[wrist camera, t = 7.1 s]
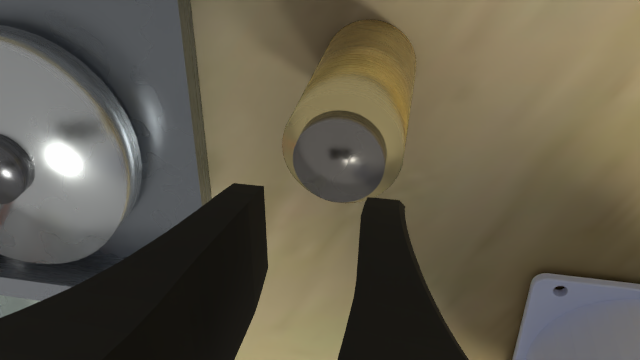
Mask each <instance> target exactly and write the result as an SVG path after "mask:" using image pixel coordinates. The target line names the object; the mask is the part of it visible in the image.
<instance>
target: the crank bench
mask: <svg viewBox="0 0 640 360" xmlns="http://www.w3.org/2000/svg"><path fill="white" fill-rule="evenodd" d="M0 25H5V26H10V27H14V28H18V29H23V30H26V31H28V32H31V33H34V34H36V35H39V36H42V37H44V38H45V39H47V40H49V41H51V42H53V43H55V44H57V45H59V46H60V47H62V48H64V49H65V50H67V51H68V52H70V53H71V54H73V55H74V56H75V57H77V58H78V59H79V60H80V61H82V62H83V63H84V64H85V65H87V66H88V67H89V68H90V69H91V70H92V71H93V72H94V73H95V74H96V75H97V76H98V77H99V78H100V79H101V80H102V81H103V82H104V83H105V85H106V86H107V87H108V88H109V89H110V91H111V92H112V93H113V94H114V96H115V97H116V99H117V100H118V102H119V103H120V105H121V106H122V108H123V109H124V111H125V113H126V115H127V117H128V119H129V120H130V122H131V125H132V127H133V130H134V132H135V135H136V137H137V141H138V145H139V149H140V153H141V160H142V182H141V188H140V193H139V195H138V198H137V201H136V203H135V205H134V207H133V209H132V210H131V212H130V214H129V215H128V216H127V217H126V219H125V220H124V221H123V222H122V224H121V225H120V226H119V227H118V229H117V230H116V231H115V232H114V234H113V235H112V236H111V237H110V238H109V240H108V241H107V242H106V243H105V244H104V245H103V246H102V247H101V248H99V249H98V250H97V251H96V252H94V253H92V254H90V255H88V256H87V257H84V258H81V259H79V260H76V261H72V262H67V263H59V264H39V263H31V262H25V261H20V260H17V259H13V258H9V257H6V256H4V255H1V254H0V318H1V317H4V316H6V315H9V314H12V313H14V312H17V311H19V310H21V309H24V308H26V307H28V306H30V305H33V304H35V303H37V302H40V301H42V300H44V299H46V298H49V297H51V296H53V295H56V294H58V293H60V292H62V291H65V290H67V289H69V288H71V287H73V286H75V285H77V284H79V283H81V282H83V281H85V280H87V279H89V278H91V277H93V276H95V275H96V274H98V273H100V272H102V271H104V270H106V269H108V268H109V267H111V266H113V265H115V264H116V263H118V262H120V261H122V260H123V259H125V258H127V257H128V256H130V255H131V254H133V253H134V252H136V251H137V250H139V249H141V248H142V247H144V246H145V245H147V244H148V243H150V242H152V241H153V240H155V239H156V238H158V237H159V236H161V235H162V234H164V233H165V232H167V231H168V230H170V229H171V228H173V227H174V226H175V225H177V224H178V223H180V222H181V221H182V220H184V219H185V218H187V217H188V216H189V215H191V214H192V213H194V212H195V211H196V210H198V209H199V208H200V207H202V206H203V205H204V204H206V203H207V202H209V201H210V200H211V199H212V198H211V189H210V180H209V171H208V161H207V152H206V143H205V134H204V124H203V115H202V106H201V97H200V87H199V78H198V69H197V60H196V50H195V41H194V32H193V23H192V14H191V4H190V0H0Z"/></svg>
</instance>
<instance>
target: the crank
mask: <svg viewBox="0 0 640 360" xmlns="http://www.w3.org/2000/svg"><path fill="white" fill-rule="evenodd" d="M141 182H142V160H141V153H140V149H139V145H138V141H137V137H136V135H135V132H134V130H133V127H132V125H131V122H130V120H129V119H128V117H127V115H126V113H125V111H124V109H123V108H122V106H121V105H120V103H119V102H118V100H117V99H116V97H115V96H114V94H113V93H112V92H111V91H110V89H109V88H108V87H107V86H106V85H105V83H104V82H103V81H102V80H101V79H100V78H99V77H98V76H97V75H96V74H95V73H94V72H93V71H92V70H91V69H90V68H89V67H88V66H87V65H85V64H84V63H83V62H82V61H80V60H79V59H78V58H77V57H75V56H74V55H73V54H71V53H70V52H68V51H67V50H65V49H64V48H62V47H60V46H59V45H57V44H55V43H53V42H51V41H49V40H47V39H45V38H44V37H42V36H39V35H36V34H34V33H31V32H28V31H26V30H23V29H18V28H14V27H10V26H5V25H0V254H1V255H4V256H6V257H9V258H13V259H17V260H20V261H25V262H31V263H39V264H59V263H67V262H72V261H76V260H79V259H81V258H84V257H87V256H88V255H90V254H92V253H94V252H96V251H97V250H98V249H99V248H101V247H102V246H103V245H104V244H105V243H106V242H107V241H108V240H109V238H110V237H111V236H112V235H113V234H114V232H115V231H116V230H117V229H118V227H119V226H120V225H121V224H122V222H123V221H124V220H125V219H126V217H127V216H128V215H129V214H130V212H131V210H132V209H133V207H134V205H135V203H136V201H137V198H138V195H139V193H140V188H141Z"/></svg>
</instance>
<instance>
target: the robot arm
mask: <svg viewBox="0 0 640 360" xmlns="http://www.w3.org/2000/svg"><path fill="white" fill-rule="evenodd" d="M267 270H268V258H267V239H266V220H265V202H264V186H255V185H245V184H236V183H234V184H232V185H231V186H229V187H228V188H226V189H225V190H223V191H222V192H221V193H219V194H218V195H217V196H215V197H214V198H213V199H211V200H210V201H209V202H207V203H206V204H204V205H203V206H202V207H200V208H199V209H198V210H196V211H195V212H194V213H192V214H191V215H189V216H188V217H187V218H185V219H184V220H182V221H181V222H180V223H178V224H177V225H175V226H174V227H173V228H171V229H170V230H168V231H167V232H165V233H164V234H162V235H161V236H159V237H158V238H156V239H155V240H153V241H152V242H150V243H148V244H147V245H145V246H144V247H142V248H141V249H139V250H137V251H136V252H134V253H133V254H131V255H130V256H128V257H127V258H125V259H123V260H122V261H120V262H118V263H116V264H115V265H113V266H111V267H109V268H108V269H106V270H104V271H102V272H100V273H98V274H96V275H95V276H93V277H91V278H89V279H87V280H85V281H83V282H81V283H79V284H77V285H75V286H73V287H71V288H69V289H67V290H65V291H62V292H60V293H58V294H56V295H53V296H51V297H49V298H46V299H44V300H42V301H40V302H37V303H35V304H33V305H30V306H28V307H26V308H24V309H21V310H19V311H17V312H14V313H12V314H9V315H6V316H4V317H1V318H0V360H234V359H235V357H236V355H237V352H238V350H239V348H240V346H241V343H242V341H243V339H244V337H245V334H246V332H247V330H248V327H249V325H250V323H251V320H252V318H253V316H254V313H255V311H256V308H257V305H258V301H259V298H260V295H261V291H262V288H263V284H264V281H265V277H266V273H267ZM557 286H564V287H565V288H563V289H561V290H557V289H554V288H555V287H557ZM338 360H468V358H467V356H466V355H465V353H464V352H463V350H462V349H461V347H460V346H459V344H458V343H457V341H456V339H455V338H454V336H453V334H452V333H451V331H450V329H449V328H448V326H447V324H446V322H445V321H444V319H443V317H442V315H441V313H440V311H439V309H438V307H437V305H436V303H435V301H434V299H433V297H432V295H431V293H430V291H429V289H428V286H427V284H426V282H425V280H424V277H423V275H422V272H421V270H420V267H419V264H418V262H417V259H416V256H415V254H414V251H413V248H412V245H411V241H410V238H409V234H408V230H407V225H406V220H405V206H404V205H403V204H402V203H401V202H400V200H390V199H381V198H371V197H367V200H366V202H365V205H364V208H363V211H362V214H361V224H360V238H359V252H358V266H357V279H356V287H355V294H354V299H353V303H352V307H351V311H350V315H349V319H348V323H347V327H346V331H345V334H344V338H343V342H342V345H341V349H340V353H339V356H338ZM512 360H640V284H635V283H627V282H618V281H610V280H601V279H593V278H584V277H576V276H567V275H559V274H550V273H542V274H539V275H536V276H535V277H534V278H533V279H532V281H531V285H530V289H529V293H528V297H527V301H526V305H525V309H524V314H523V318H522V322H521V326H520V330H519V334H518V338H517V342H516V347H515V351H514V355H513V359H512Z"/></svg>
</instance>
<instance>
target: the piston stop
mask: <svg viewBox="0 0 640 360" xmlns="http://www.w3.org/2000/svg"><path fill="white" fill-rule="evenodd" d="M415 72H416V57H415V53H414V50H413V47H412V45H411V43H410V42H409V40H408V39H407V37H406V36H405V35H404V34H403V33H402V32H401V31H400V30H398V29H397V28H396V27H394V26H392V25H390V24H388V23H386V22H382V21H378V20H361V21H357V22H353V23H351V24H349V25H347V26H345V27H344V28H342V29H341V30H340V31H339V32H338V33H337V34H336V35H335V36H334V37H333V39H332V40H331V42H330V44H329V46H328V47H327V49H326V51H325V53H324V55H323V57H322V59H321V61H320V63H319V64H318V66H317V68H316V70H315V72H314V74H313V76H312V78H311V80H310V81H309V83H308V85H307V87H306V89H305V91H304V93H303V95H302V97H301V99H300V100H299V102H298V104H297V106H296V108H295V110H294V112H293V114H292V116H291V117H290V119H289V121H288V123H287V125H286V128H285V130H284V134H283V141H282V148H283V155H284V159H285V162H286V164H287V167H288V168H289V170H290V172H291V174H292V175H293V176H294V178H295V179H296V180H297V181H298V182H299V183H300V184H301V185H302V186H303V187H304V188H305V189H307V190H308V191H310V192H311V193H313V194H315V195H316V196H318V197H320V198H323V199H325V200H328V201H332V202H340V203H355V202H361V201H365V200H367V197H371V198H374V197H376V196H378V195H379V194H381V193H383V192H384V191H385V190H386V189H388V188H389V187H390V186H391V184H392V183H393V182H394V181H395V179H396V178H397V176H398V174H399V172H400V170H401V167H402V163H403V157H404V150H405V143H406V136H407V129H408V122H409V115H410V108H411V101H412V94H413V87H414V79H415Z"/></svg>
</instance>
